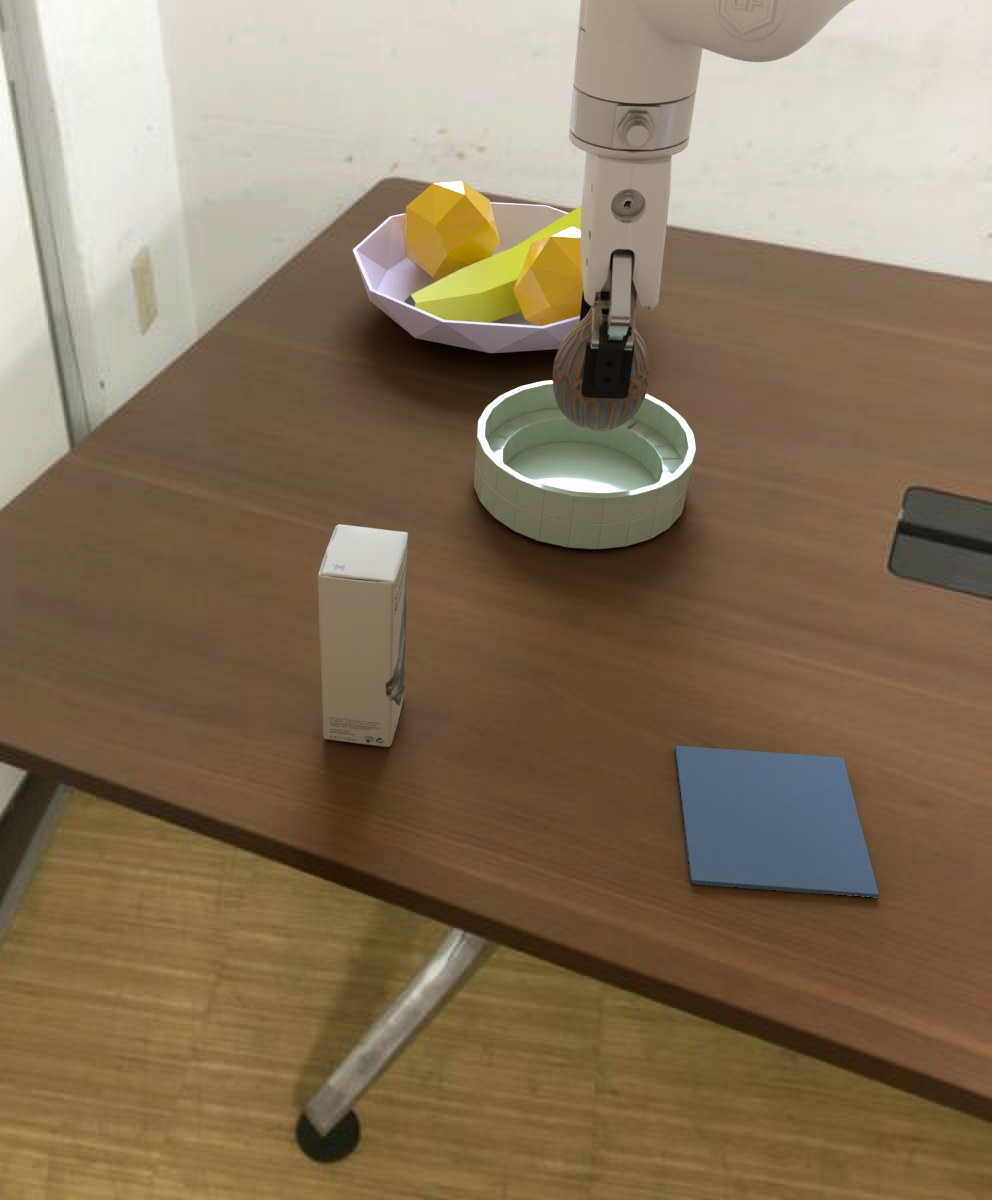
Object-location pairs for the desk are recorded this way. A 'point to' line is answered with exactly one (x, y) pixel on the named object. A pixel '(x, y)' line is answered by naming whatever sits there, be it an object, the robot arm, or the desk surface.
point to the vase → (569, 382)
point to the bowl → (581, 471)
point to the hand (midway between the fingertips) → (601, 367)
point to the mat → (772, 822)
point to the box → (363, 634)
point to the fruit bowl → (476, 270)
